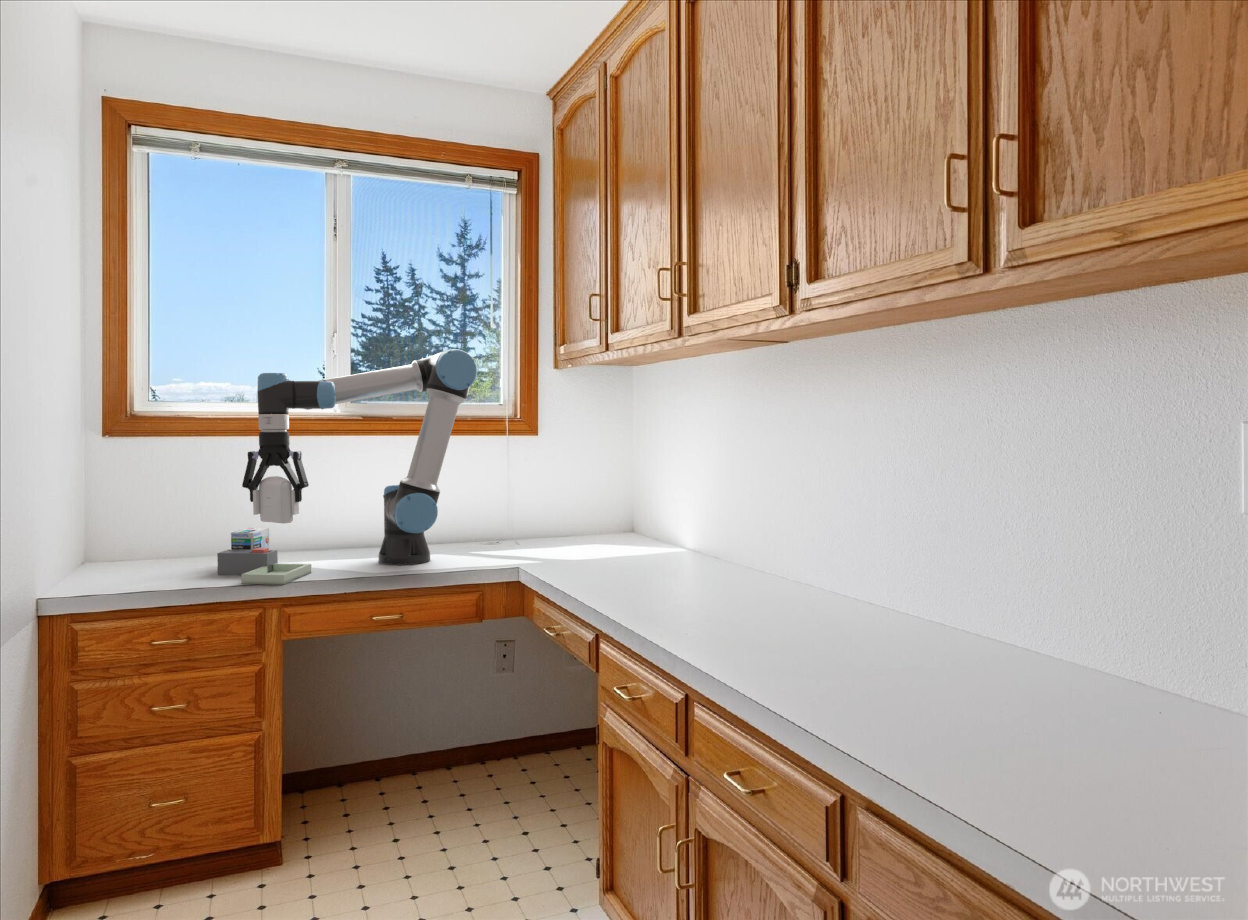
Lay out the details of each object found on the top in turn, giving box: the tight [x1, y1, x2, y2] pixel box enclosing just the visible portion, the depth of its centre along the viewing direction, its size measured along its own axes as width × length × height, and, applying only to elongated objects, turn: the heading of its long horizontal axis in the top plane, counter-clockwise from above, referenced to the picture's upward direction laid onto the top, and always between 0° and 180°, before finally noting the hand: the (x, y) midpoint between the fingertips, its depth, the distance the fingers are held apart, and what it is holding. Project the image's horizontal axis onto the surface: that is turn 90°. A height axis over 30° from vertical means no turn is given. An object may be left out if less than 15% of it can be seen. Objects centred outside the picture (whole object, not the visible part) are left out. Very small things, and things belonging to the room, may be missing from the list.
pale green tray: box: [240, 563, 312, 586], centre depth 226 cm, size 11×16×2 cm
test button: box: [252, 547, 270, 553], centre depth 232 cm, size 3×3×5 cm
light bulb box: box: [230, 527, 270, 550], centre depth 242 cm, size 11×7×11 cm, turn 179°
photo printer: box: [258, 475, 294, 524], centre depth 225 cm, size 10×4×12 cm, turn 57°
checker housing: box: [216, 549, 278, 576], centre depth 233 cm, size 14×6×6 cm, turn 87°
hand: (276, 514), depth 225 cm, fingers closed on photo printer, 10 cm apart
